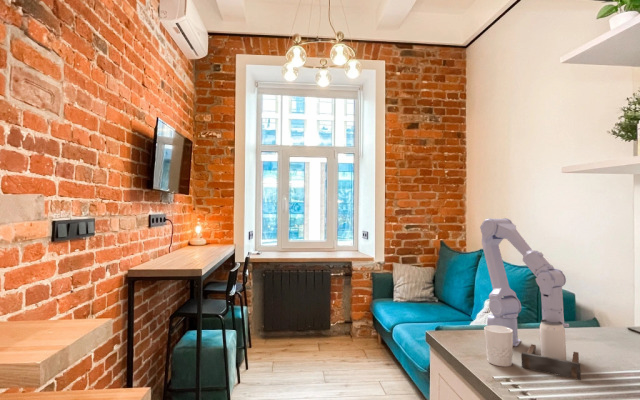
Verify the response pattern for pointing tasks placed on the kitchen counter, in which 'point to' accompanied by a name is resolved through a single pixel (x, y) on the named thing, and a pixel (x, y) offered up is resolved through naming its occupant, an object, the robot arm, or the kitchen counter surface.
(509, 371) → the kitchen counter surface
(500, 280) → the robot arm
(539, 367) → the bay
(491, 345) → the white cup
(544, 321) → the can
